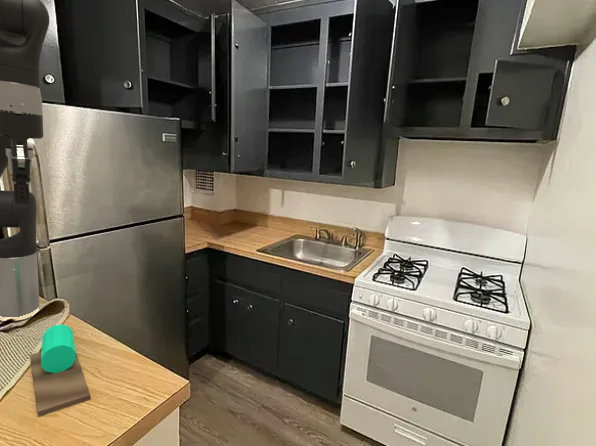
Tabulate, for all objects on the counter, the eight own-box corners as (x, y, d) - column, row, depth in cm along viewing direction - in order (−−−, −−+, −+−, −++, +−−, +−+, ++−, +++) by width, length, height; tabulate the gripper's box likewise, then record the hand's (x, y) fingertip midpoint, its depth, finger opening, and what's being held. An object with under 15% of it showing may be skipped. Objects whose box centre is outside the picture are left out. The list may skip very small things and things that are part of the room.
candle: (58, 339, 70) (57, 316, 79) (32, 364, 68) (35, 337, 77) (83, 354, 73) (79, 330, 82) (59, 378, 71) (58, 350, 80)
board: (30, 358, 75) (29, 354, 75) (73, 348, 80) (73, 344, 80) (38, 416, 61) (37, 411, 60) (90, 399, 66) (90, 394, 66)
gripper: (-10, 107, 66) (-4, 197, 69) (-11, 106, 56) (-4, 210, 59) (39, 114, 70) (42, 197, 74) (46, 113, 61) (49, 209, 64)
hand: (22, 203), depth 67 cm, fingers closed
